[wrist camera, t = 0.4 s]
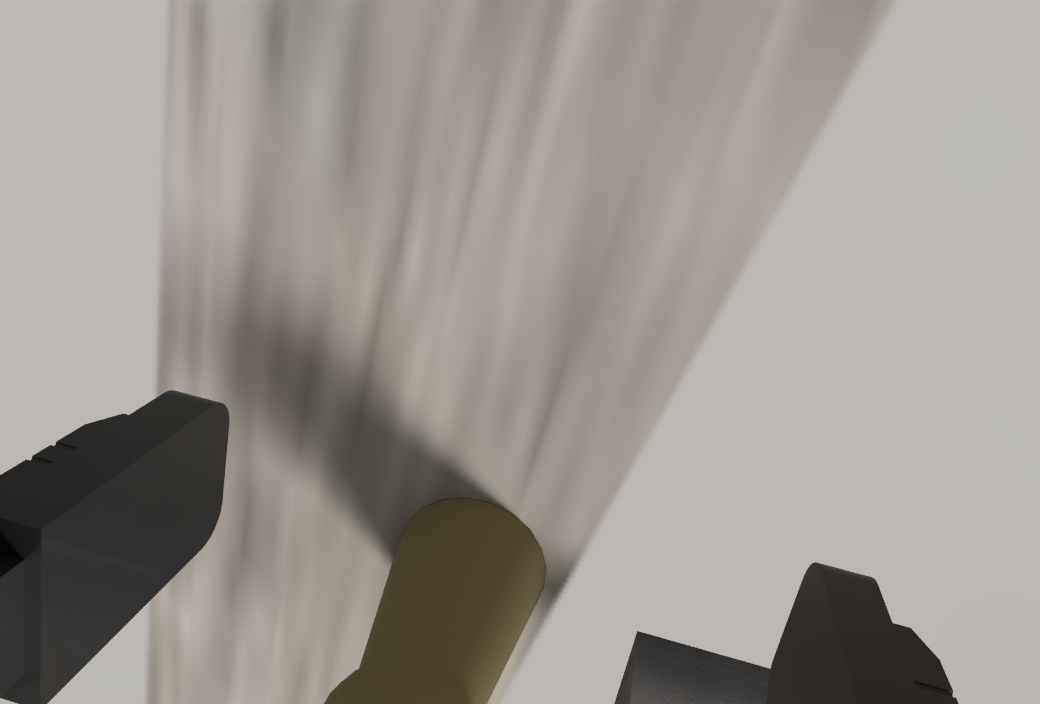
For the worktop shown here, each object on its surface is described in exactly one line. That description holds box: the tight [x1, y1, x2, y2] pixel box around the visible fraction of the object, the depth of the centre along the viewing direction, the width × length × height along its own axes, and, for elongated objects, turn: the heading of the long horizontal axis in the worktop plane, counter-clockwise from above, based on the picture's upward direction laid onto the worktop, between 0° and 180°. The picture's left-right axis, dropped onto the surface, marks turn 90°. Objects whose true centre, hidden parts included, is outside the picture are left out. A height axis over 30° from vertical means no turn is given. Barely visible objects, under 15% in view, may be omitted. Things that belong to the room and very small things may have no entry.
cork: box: [324, 498, 546, 704], centre depth 29 cm, size 6×6×11 cm
